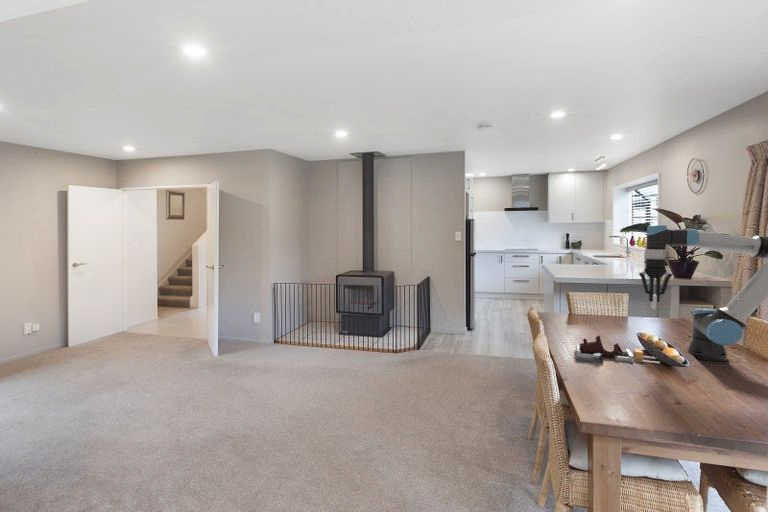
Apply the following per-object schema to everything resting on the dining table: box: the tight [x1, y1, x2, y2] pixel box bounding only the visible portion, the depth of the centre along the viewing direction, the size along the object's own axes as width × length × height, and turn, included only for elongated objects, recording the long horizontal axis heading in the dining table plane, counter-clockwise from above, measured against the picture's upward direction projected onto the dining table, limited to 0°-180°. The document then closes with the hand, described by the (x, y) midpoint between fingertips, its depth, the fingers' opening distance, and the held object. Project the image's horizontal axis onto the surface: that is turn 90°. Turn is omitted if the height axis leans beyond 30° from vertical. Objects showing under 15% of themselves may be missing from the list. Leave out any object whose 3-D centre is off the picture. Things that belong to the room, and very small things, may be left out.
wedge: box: [632, 348, 644, 360], centre depth 189 cm, size 3×5×4 cm, turn 158°
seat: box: [574, 344, 661, 365], centre depth 193 cm, size 34×13×4 cm, turn 68°
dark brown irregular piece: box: [579, 335, 624, 358], centre depth 195 cm, size 6×17×10 cm, turn 77°
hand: (653, 308), depth 191 cm, fingers closed
